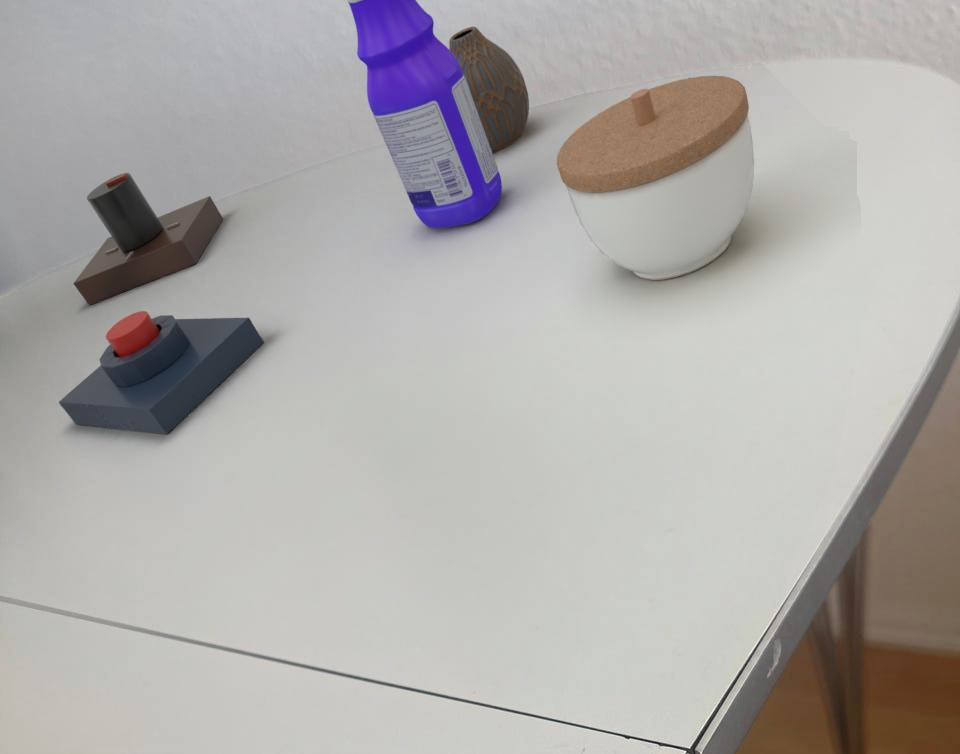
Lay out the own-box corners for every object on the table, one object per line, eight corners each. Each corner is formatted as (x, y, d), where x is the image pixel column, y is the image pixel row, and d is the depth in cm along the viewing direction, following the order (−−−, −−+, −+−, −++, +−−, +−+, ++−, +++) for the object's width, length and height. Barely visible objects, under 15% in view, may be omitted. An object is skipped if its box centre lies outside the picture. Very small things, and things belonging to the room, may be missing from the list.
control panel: (88, 305, 99) (71, 281, 98) (121, 259, 106) (106, 236, 104) (196, 263, 95) (180, 238, 93) (223, 218, 102) (209, 194, 100)
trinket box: (588, 321, 58) (535, 167, 52) (602, 235, 65) (556, 90, 59) (775, 270, 54) (741, 96, 48) (768, 184, 61) (738, 23, 55)
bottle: (520, 187, 77) (429, -65, 65) (486, 227, 74) (384, -29, 62) (446, 200, 81) (349, -35, 69) (412, 238, 78) (304, 0, 67)
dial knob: (114, 257, 98) (77, 201, 94) (130, 235, 101) (95, 181, 98) (154, 241, 97) (117, 184, 93) (168, 220, 100) (134, 164, 96)
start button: (111, 359, 75) (96, 339, 74) (143, 330, 76) (130, 311, 75) (137, 359, 73) (122, 339, 72) (169, 330, 74) (156, 310, 73)
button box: (75, 424, 79) (42, 383, 76) (168, 341, 83) (140, 300, 81) (167, 434, 70) (133, 388, 68) (264, 342, 75) (236, 295, 73)
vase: (497, 163, 82) (456, 52, 76) (449, 160, 87) (408, 57, 81) (554, 120, 84) (519, 8, 78) (505, 120, 89) (468, 15, 83)
